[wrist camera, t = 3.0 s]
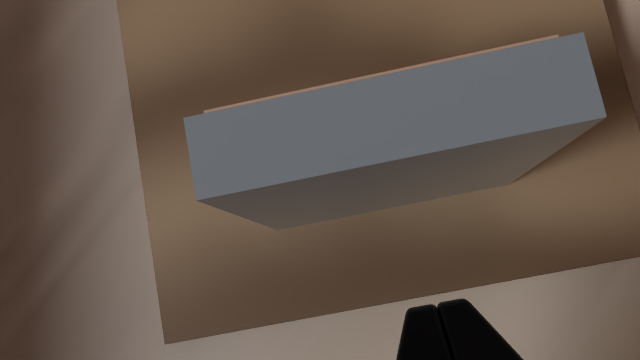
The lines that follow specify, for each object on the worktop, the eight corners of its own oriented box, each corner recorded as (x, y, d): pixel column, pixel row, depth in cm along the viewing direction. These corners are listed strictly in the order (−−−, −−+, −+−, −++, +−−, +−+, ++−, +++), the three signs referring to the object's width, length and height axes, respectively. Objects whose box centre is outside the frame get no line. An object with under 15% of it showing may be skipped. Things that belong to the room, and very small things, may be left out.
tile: (508, 184, 18) (606, 117, 10) (277, 230, 18) (196, 200, 10) (495, 131, 18) (581, 23, 10) (268, 177, 19) (182, 109, 11)
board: (661, 251, 18) (673, 250, 17) (173, 341, 19) (164, 344, 18) (552, -138, 20) (559, -155, 19) (120, -36, 21) (110, -47, 20)
